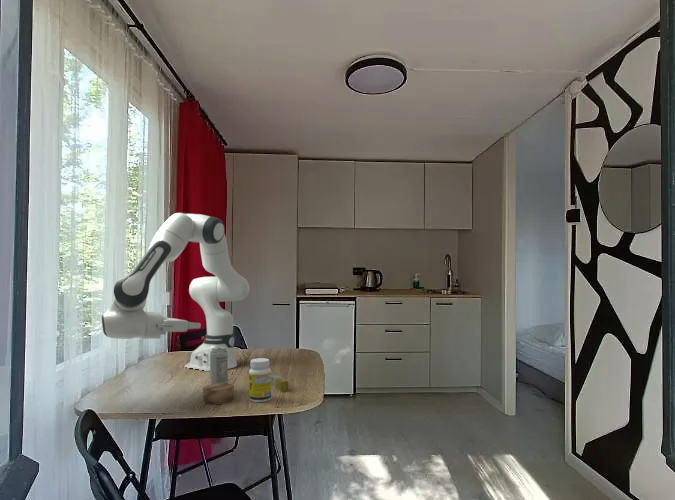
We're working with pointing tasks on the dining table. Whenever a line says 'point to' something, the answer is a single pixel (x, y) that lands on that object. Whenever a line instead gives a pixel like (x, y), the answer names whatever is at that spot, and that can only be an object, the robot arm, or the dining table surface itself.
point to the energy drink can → (218, 365)
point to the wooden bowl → (218, 393)
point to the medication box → (279, 383)
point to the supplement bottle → (260, 380)
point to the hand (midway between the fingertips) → (198, 325)
